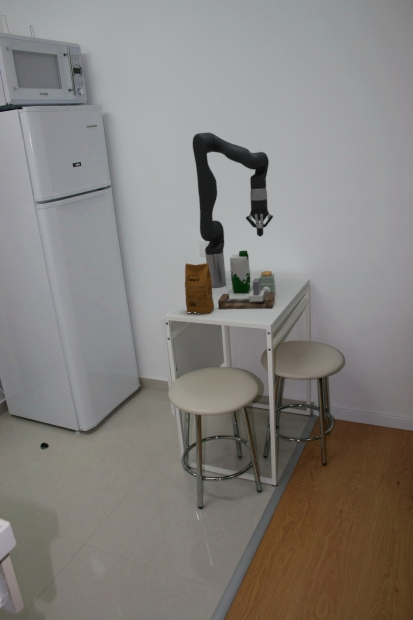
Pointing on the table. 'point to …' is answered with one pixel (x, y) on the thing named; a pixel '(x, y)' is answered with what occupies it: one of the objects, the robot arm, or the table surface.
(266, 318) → the table surface
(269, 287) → the cabinet
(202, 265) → the coffee package
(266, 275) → the button
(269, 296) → the rail bed
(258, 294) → the carriage
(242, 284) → the milk carton
